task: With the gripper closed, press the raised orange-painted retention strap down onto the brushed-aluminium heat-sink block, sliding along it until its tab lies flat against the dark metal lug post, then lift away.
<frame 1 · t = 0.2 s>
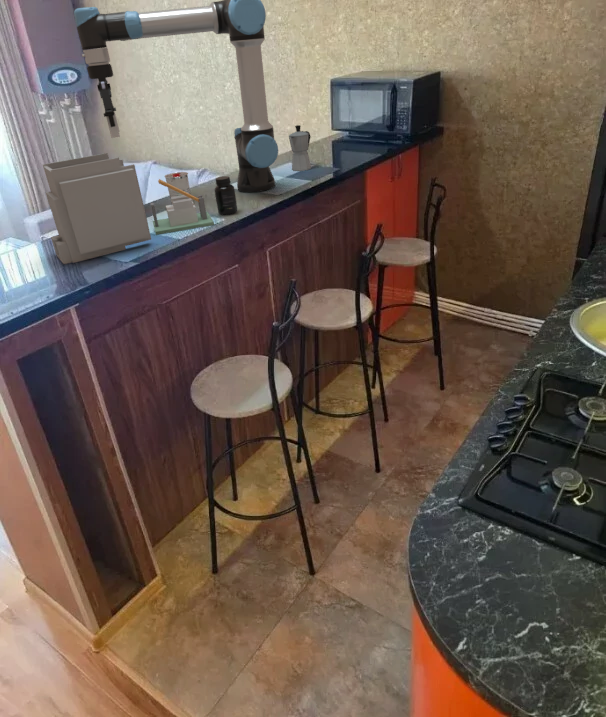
hand: (115, 134, 193), 28 cm above the counter, fingers open, 13 cm apart
coffee maker: (303, 168, 253), on the counter
grey layered block: (107, 248, 177), on the counter
supplement bottle: (228, 213, 200), on the counter
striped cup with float: (182, 208, 211), on the counter
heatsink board: (183, 224, 192), on the counter
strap: (181, 190, 187), point 11 cm above the counter, hinge at 35.0°
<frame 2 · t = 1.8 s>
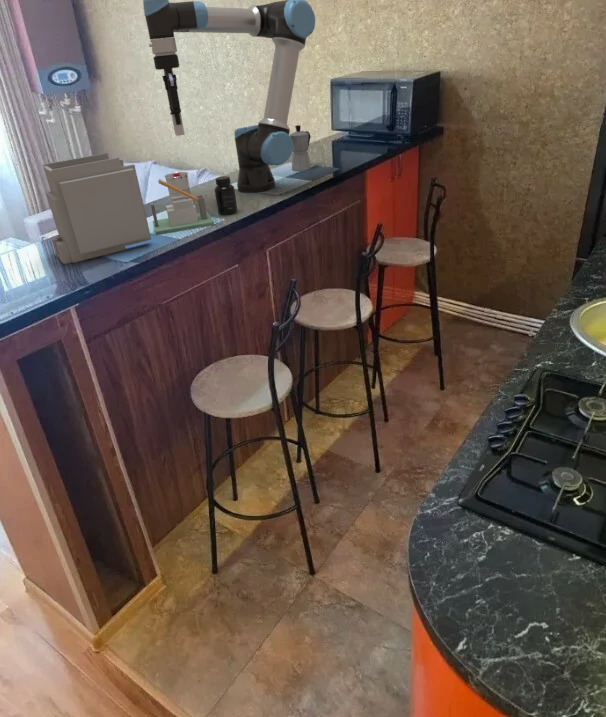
hand: (179, 134, 190), 27 cm above the counter, fingers open, 3 cm apart
nothing on the counter moved.
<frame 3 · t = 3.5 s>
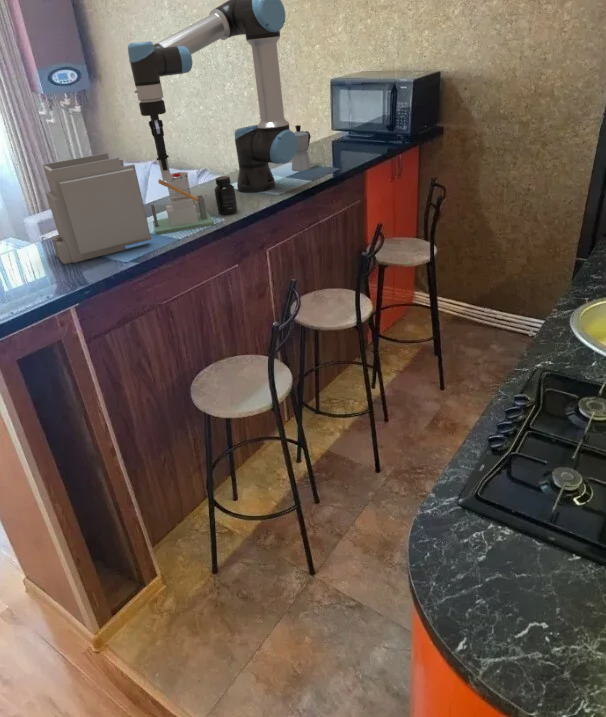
hand: (167, 180, 184), 15 cm above the counter, fingers closed
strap: (181, 190, 187), point 11 cm above the counter, hinge at 35.0°, touching gripper
everything else where it was.
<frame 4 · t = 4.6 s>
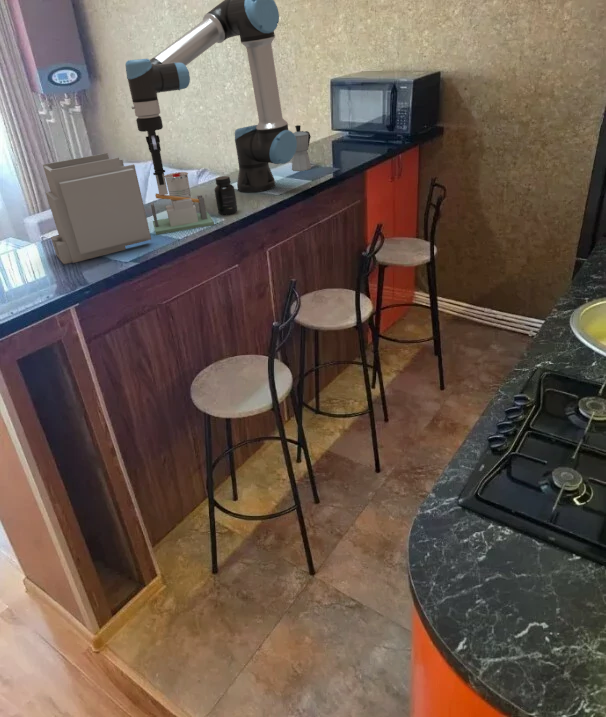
hand: (163, 194, 186), 11 cm above the counter, fingers closed
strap: (179, 197, 188), point 9 cm above the counter, hinge at 15.9°, touching gripper
everything else where it was.
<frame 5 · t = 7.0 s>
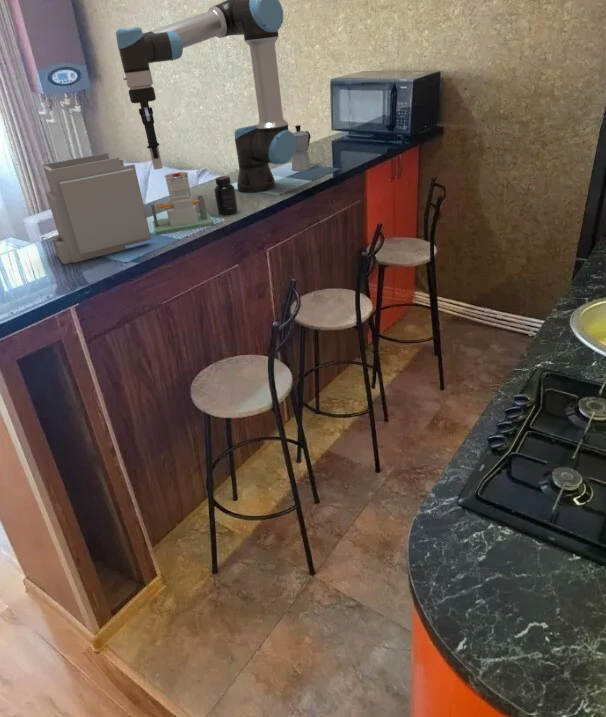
hand: (158, 168, 183), 19 cm above the counter, fingers closed
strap: (179, 202, 189), point 7 cm above the counter, hinge at 2.3°
everything else where it was.
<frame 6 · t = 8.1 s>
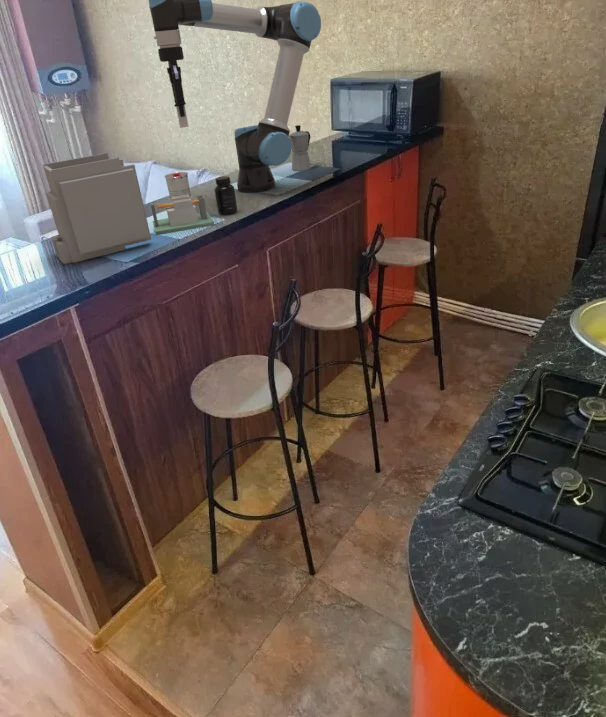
hand: (184, 126, 191), 28 cm above the counter, fingers closed
nothing on the counter moved.
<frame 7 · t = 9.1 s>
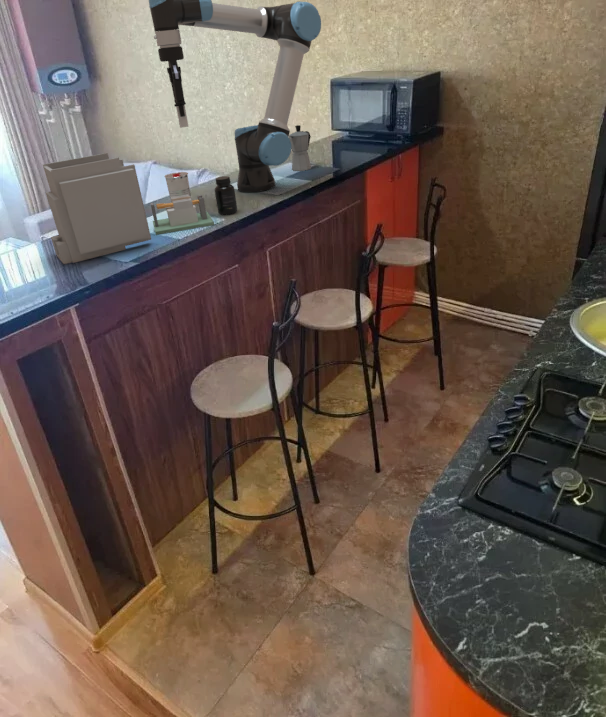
hand: (184, 126, 191), 28 cm above the counter, fingers closed
nothing on the counter moved.
at the end: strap at +2° (first picture: +35°); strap touching nothing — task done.
